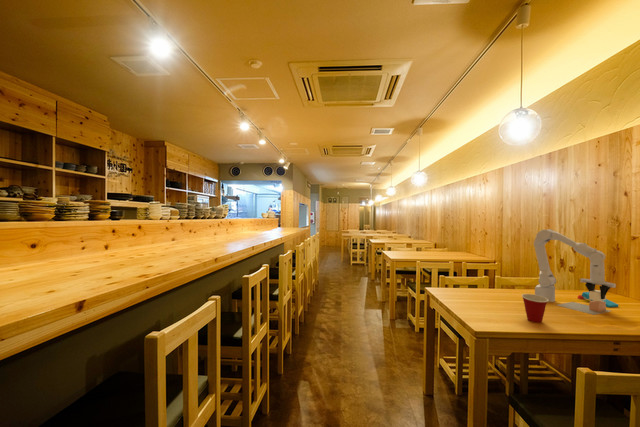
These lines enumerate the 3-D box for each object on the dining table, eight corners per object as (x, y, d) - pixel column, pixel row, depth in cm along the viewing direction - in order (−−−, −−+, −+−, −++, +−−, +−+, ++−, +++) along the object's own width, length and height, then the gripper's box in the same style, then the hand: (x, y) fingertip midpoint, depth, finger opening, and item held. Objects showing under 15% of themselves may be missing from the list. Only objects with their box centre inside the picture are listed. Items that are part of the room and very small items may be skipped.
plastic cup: (534, 325, 137) (534, 300, 137) (516, 317, 147) (516, 294, 147) (554, 324, 138) (554, 299, 138) (535, 316, 149) (535, 293, 149)
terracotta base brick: (589, 309, 158) (589, 301, 158) (596, 308, 161) (596, 299, 161) (598, 311, 155) (598, 303, 155) (605, 310, 157) (605, 301, 157)
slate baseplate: (555, 306, 166) (555, 304, 166) (572, 303, 173) (572, 301, 173) (594, 316, 150) (594, 314, 150) (612, 312, 156) (612, 310, 156)
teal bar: (614, 315, 165) (581, 298, 182) (618, 304, 163) (585, 288, 180) (605, 316, 164) (573, 299, 181) (609, 305, 162) (576, 289, 179)
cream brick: (589, 299, 158) (589, 291, 158) (596, 298, 161) (596, 289, 161) (598, 301, 155) (598, 292, 155) (605, 299, 157) (605, 291, 157)
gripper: (577, 271, 163) (577, 295, 163) (610, 276, 150) (610, 302, 150) (584, 270, 166) (584, 294, 166) (617, 275, 152) (618, 300, 152)
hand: (597, 297), depth 158 cm, fingers closed on cream brick, 4 cm apart
